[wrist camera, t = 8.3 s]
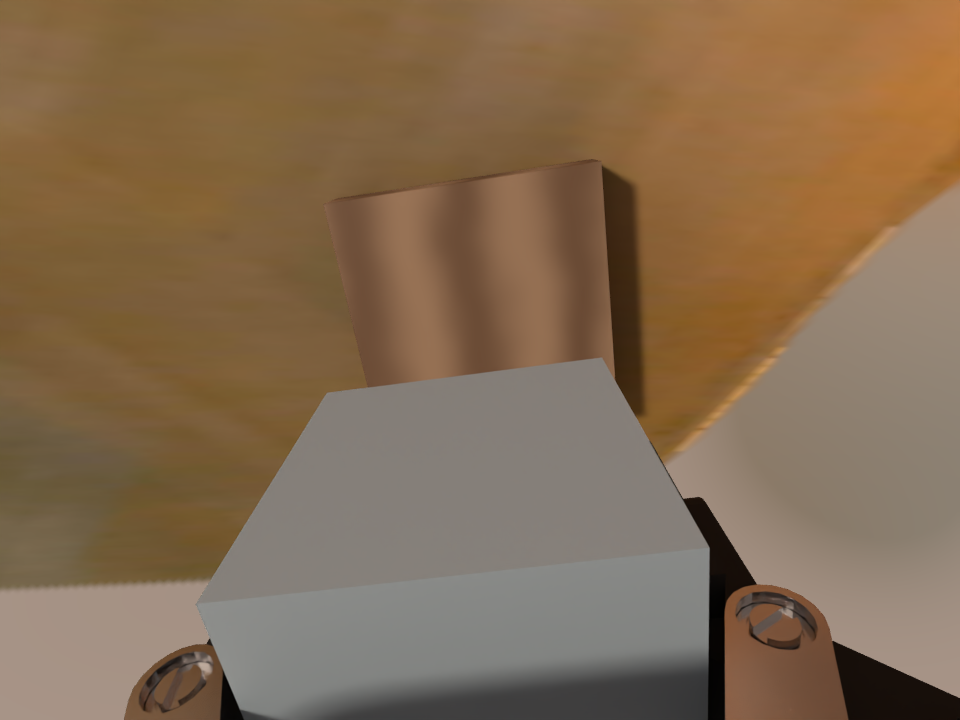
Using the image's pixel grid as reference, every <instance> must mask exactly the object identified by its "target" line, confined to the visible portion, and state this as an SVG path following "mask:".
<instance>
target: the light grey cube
mask: <svg viewBox="0 0 960 720" xmlns="http://www.w3.org/2000/svg"><path fill="white" fill-rule="evenodd" d="M709 551H710V548H709V546H708V544H707V542H706V541H705V539H704V537H703V535H702V533H701V532H700V530H699V528H698V526H697V525H696V523H695V521H694V519H693V518H692V516H691V514H690V512H689V510H688V509H687V507H686V505H685V503H684V502H683V500H682V498H681V496H680V495H679V493H678V491H677V489H676V488H675V486H674V484H673V482H672V480H671V479H670V477H669V475H668V473H667V472H666V470H665V468H664V466H663V465H662V463H661V461H660V459H659V457H658V456H657V454H656V452H655V450H654V449H653V447H652V445H651V443H650V442H649V440H648V438H647V436H646V434H645V433H644V431H643V429H642V427H641V426H640V424H639V422H638V420H637V419H636V417H635V415H634V413H633V411H632V410H631V408H630V406H629V404H628V403H627V401H626V399H625V397H624V396H623V394H622V392H621V390H620V389H619V387H618V385H617V383H616V381H615V380H614V378H613V376H612V374H611V373H610V371H609V369H608V367H607V366H606V364H605V362H604V360H603V358H594V359H586V360H579V361H571V362H563V363H555V364H547V365H540V366H532V367H524V368H516V369H509V370H501V371H493V372H485V373H478V374H470V375H462V376H454V377H447V378H439V379H431V380H423V381H416V382H408V383H400V384H392V385H385V386H377V387H369V388H361V389H354V390H346V391H338V392H330V393H327V394H326V395H325V397H324V399H323V400H322V402H321V403H320V405H319V407H318V408H317V410H316V412H315V413H314V415H313V416H312V418H311V420H310V421H309V423H308V424H307V426H306V428H305V429H304V431H303V432H302V434H301V436H300V437H299V439H298V441H297V442H296V444H295V445H294V447H293V449H292V450H291V452H290V453H289V455H288V457H287V458H286V460H285V461H284V463H283V465H282V466H281V468H280V469H279V471H278V473H277V474H276V476H275V478H274V479H273V481H272V482H271V484H270V486H269V487H268V489H267V490H266V492H265V494H264V495H263V497H262V498H261V500H260V502H259V503H258V505H257V506H256V508H255V510H254V511H253V513H252V515H251V516H250V518H249V519H248V521H247V523H246V524H245V526H244V527H243V529H242V531H241V532H240V534H239V535H238V537H237V539H236V540H235V542H234V543H233V545H232V547H231V548H230V550H229V552H228V553H227V555H226V556H225V558H224V560H223V561H222V563H221V564H220V566H219V568H218V569H217V571H216V572H215V574H214V576H213V577H212V579H211V580H210V582H209V584H208V585H207V587H206V589H205V590H204V592H203V593H202V595H201V597H200V598H199V600H198V601H197V603H196V606H197V608H198V610H199V613H200V615H201V618H202V620H203V622H204V625H205V627H206V630H207V632H208V635H209V637H210V639H211V642H212V644H213V646H214V649H215V651H216V654H217V656H218V658H219V661H220V663H221V666H222V668H223V670H224V673H225V675H226V677H227V680H228V682H229V685H230V687H231V689H232V692H233V694H234V697H235V699H236V701H237V704H238V706H239V708H240V711H241V713H242V716H243V718H244V720H708V652H709Z"/></svg>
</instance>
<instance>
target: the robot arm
mask: <svg viewBox="0 0 960 720" xmlns="http://www.w3.org/2000/svg"><path fill="white" fill-rule="evenodd" d="M649 442H650V441H649ZM650 443H651V442H650ZM651 445H652V443H651ZM652 447H653V445H652ZM653 449H654V450H655V448H654V447H653ZM655 452H656V450H655ZM656 454H657V452H656ZM657 456H658V454H657ZM658 457H659V456H658ZM659 459H660V457H659ZM660 461H661V459H660ZM661 463H662V461H661ZM662 465H663V466H664V464H663V463H662ZM664 468H665V466H664ZM665 470H666V468H665ZM666 472H667V470H666ZM667 473H668V472H667ZM668 475H669V473H668ZM669 477H670V475H669ZM670 479H671V480H672V478H671V477H670ZM672 482H673V480H672ZM673 484H674V482H673ZM674 486H675V484H674ZM675 488H676V489H677V487H676V486H675ZM677 491H678V489H677ZM678 493H679V495H680V496H681V494H680V492H679V491H678ZM681 498H682V496H681ZM682 500H683V502H684V503H685V505H686V507H687V509H688V510H689V512H690V514H691V516H692V518H693V519H694V521H695V523H696V525H697V526H698V528H699V530H700V532H701V533H702V535H703V537H704V539H705V541H706V542H707V544H708V546H709V548H710V551H709V652H708V720H960V698H958V697H956V696H954V695H951V694H949V693H947V692H945V691H943V690H940V689H938V688H936V687H934V686H932V685H929V684H927V683H925V682H923V681H920V680H918V679H916V678H914V677H912V676H909V675H907V674H905V673H903V672H901V671H898V670H896V669H894V668H892V667H889V666H887V665H885V664H883V663H880V662H878V661H876V660H874V659H872V658H870V657H867V656H865V655H863V654H861V653H858V652H856V651H854V650H852V649H850V648H847V647H845V646H843V645H841V644H838V643H836V642H834V641H832V638H831V634H830V629H829V626H828V624H827V621H826V619H825V617H824V615H823V614H822V613H821V612H820V611H819V610H818V609H817V607H816V606H815V605H814V604H812V603H811V602H810V601H808V600H807V599H805V598H804V597H803V596H801V595H799V594H797V593H794V592H792V591H790V590H788V589H785V588H781V587H777V586H772V585H757V584H756V582H755V581H754V579H753V577H752V576H751V574H750V573H749V571H748V569H747V568H746V566H745V565H744V563H743V561H742V560H741V558H740V557H739V555H738V553H737V552H736V550H735V549H734V547H733V545H732V544H731V542H730V541H729V539H728V537H727V536H726V534H725V533H724V531H723V530H722V528H721V526H720V525H719V523H718V521H717V520H716V518H715V517H714V515H713V513H712V512H711V510H710V509H709V507H708V505H707V504H706V502H705V501H704V500H703V499H702V498H700V497H695V498H687V499H683V498H682ZM124 720H244V718H243V716H242V713H241V711H240V708H239V706H238V704H237V701H236V699H235V697H234V694H233V692H232V689H231V687H230V685H229V682H228V680H227V677H226V675H225V673H224V670H223V668H222V666H221V663H220V661H219V658H218V656H217V654H216V651H215V649H214V646H213V644H212V642H211V639H209V640H208V642H207V644H199V645H192V646H188V647H185V648H181V649H179V650H177V651H175V652H173V653H171V654H169V655H167V656H166V657H164V658H163V659H161V660H160V661H158V662H157V663H155V664H154V665H153V666H152V667H151V668H150V669H149V670H148V671H147V672H146V673H145V674H144V675H143V676H142V677H141V678H140V680H139V681H138V682H137V684H136V685H135V686H134V688H133V690H132V693H131V695H130V698H129V700H128V704H127V708H126V713H125V717H124Z"/></svg>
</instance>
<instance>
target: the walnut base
mask: <svg viewBox="0 0 960 720" xmlns="http://www.w3.org/2000/svg"><path fill="white" fill-rule="evenodd" d="M323 205H324V209H325V213H326V217H327V221H328V225H329V229H330V233H331V238H332V242H333V246H334V250H335V254H336V258H337V262H338V266H339V270H340V275H341V279H342V283H343V287H344V291H345V295H346V299H347V303H348V307H349V312H350V316H351V320H352V324H353V328H354V332H355V336H356V340H357V344H358V349H359V353H360V357H361V361H362V365H363V369H364V373H365V377H366V381H367V385H368V388H369V387H377V386H385V385H392V384H400V383H408V382H416V381H423V380H431V379H439V378H447V377H454V376H462V375H470V374H478V373H485V372H493V371H501V370H509V369H516V368H524V367H532V366H540V365H547V364H555V363H563V362H571V361H579V360H586V359H594V358H603V360H604V362H605V364H606V366H607V367H608V369H609V371H610V373H611V374H612V376H613V378H614V380H615V370H614V354H613V339H612V323H611V307H610V291H609V275H608V259H607V243H606V227H605V211H604V195H603V179H602V164H601V161H598V160H593V159H591V160H584V161H578V162H571V163H565V164H558V165H552V166H545V167H539V168H532V169H526V170H519V171H513V172H506V173H500V174H493V175H487V176H480V177H474V178H467V179H461V180H454V181H448V182H442V183H435V184H429V185H422V186H416V187H409V188H403V189H396V190H390V191H383V192H377V193H370V194H364V195H357V196H351V197H344V198H338V199H334V200H332V201H330V202H327V203H325V204H323Z"/></svg>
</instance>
